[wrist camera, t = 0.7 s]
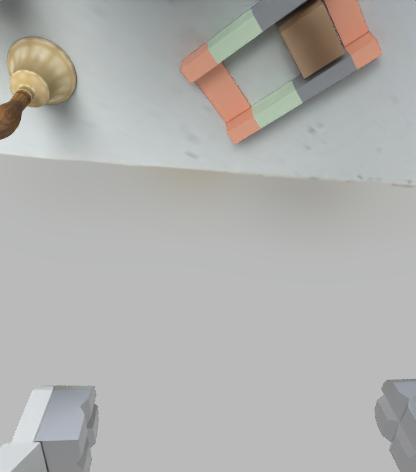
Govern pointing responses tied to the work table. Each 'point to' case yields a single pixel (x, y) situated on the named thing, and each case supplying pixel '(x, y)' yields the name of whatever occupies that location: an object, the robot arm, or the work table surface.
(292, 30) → the walnut block
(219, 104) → the multicolored rectangular frame
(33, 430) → the robot arm
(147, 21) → the work table surface
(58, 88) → the hand bell
